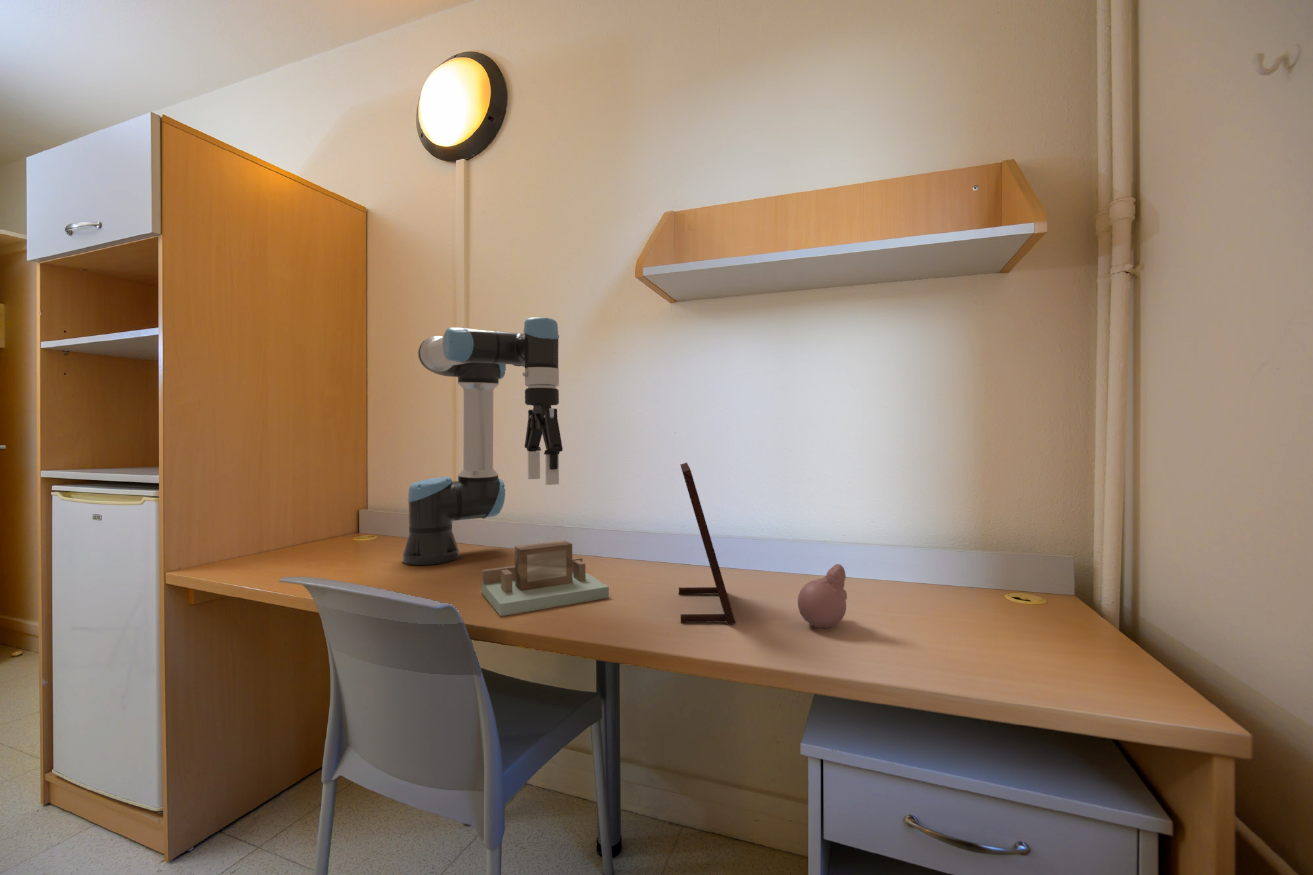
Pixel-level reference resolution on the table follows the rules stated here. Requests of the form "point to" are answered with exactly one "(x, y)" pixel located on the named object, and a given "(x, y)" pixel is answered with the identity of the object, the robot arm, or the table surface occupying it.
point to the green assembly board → (539, 590)
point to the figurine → (824, 599)
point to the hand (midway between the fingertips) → (542, 481)
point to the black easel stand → (713, 563)
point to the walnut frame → (543, 565)
